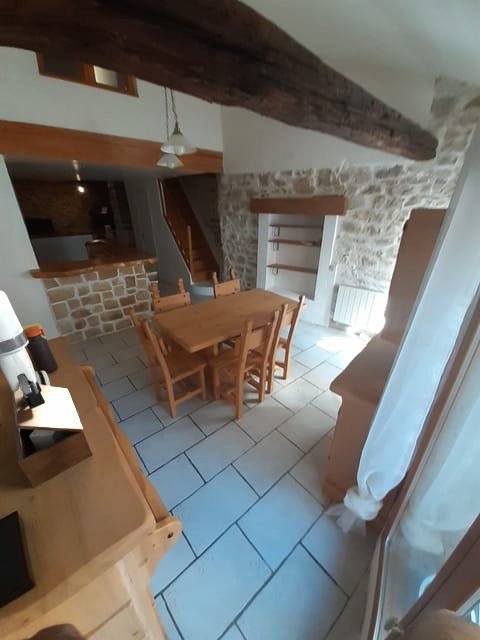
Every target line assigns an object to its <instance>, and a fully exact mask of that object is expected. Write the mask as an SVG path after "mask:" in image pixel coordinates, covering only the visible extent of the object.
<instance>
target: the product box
mask: <svg viewBox="0 0 480 640" xmlns="http://www.w3.org/2000/svg"><path fill="white" fill-rule="evenodd" d="M69 436H70V433H69V431H57V430H36V429H35V430H34V431H33V432H32V434H31V435H30V436H29V437H30V439H31V441H32V443H33V444H34V446H35V448H36V450H37V452H39V451H41V450H43V449H45V448H47V447H49V446H51V445H53V444H55V443H57V442H59V441H61V440H63V439H65V438H67V437H69Z"/></svg>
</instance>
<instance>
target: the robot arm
mask: <svg viewBox="0 0 480 640" xmlns="http://www.w3.org/2000/svg"><path fill="white" fill-rule="evenodd" d="M21 326H22V325H21V322H20V320H19V318H18V316H17V315H16V312H15V310H14V308H13V306H12V304H11V302H10V300H9V297H8V296H7V294H6V293H5V292H4V291H2V290H1V289H0V369H1V371H2V374H3V376H4V377H5V379H6V382H7V383H8V385H9V388H10V389H11V392H12V391H14V392H16V391H17V390H19V386H20V389H21V391H22V393H23V395H24V398H25V400H26V402H27V404H28V405H29V407H30V409H33V408H35V407H38V406H40V405H42V404H44V403H45V400H44V398H43V396H42V394H41V391H42V389H41V387H40V385H39V383H38V381H37V379H36V376H35V369H34V365H33V363H32V360H31V358H30V356H29V353H28V351H27V349H26V347H27V344H28V343H29V341H28V339H27V337H26V335H25V333H24V331H23V329H22V327H21ZM29 382H31V383H29ZM35 383H36V384H37V387H36V385H35ZM30 386H33V388H34V389H33V388H32V389H31V388H30ZM37 388H38V389H37Z"/></svg>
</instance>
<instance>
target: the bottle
mask: <svg viewBox="0 0 480 640" xmlns="http://www.w3.org/2000/svg"><path fill="white" fill-rule="evenodd" d="M24 333H25V335H26V337H27V338H28V341H29V343H28V344H27V345H26V348H27V350H28V352H29V354H30V356H31V359H32V360H33V363H34V365H35V367H36V369H37V372H38V373H39V372H40V371H45V372H46V373H47V375H49V374H50V375H51V374H52V373H54V372H56V371H57V370H58V369H59V365H58V363H57V360H56V357H55V355H54V353H53V350H52V348H51V345H50V343H49V341H48V338H47V337H45V336H46V335H45V336H43V335H41V331H40V328H39V327H37V326H34V327H29V328H27V329H25V330H24Z"/></svg>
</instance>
